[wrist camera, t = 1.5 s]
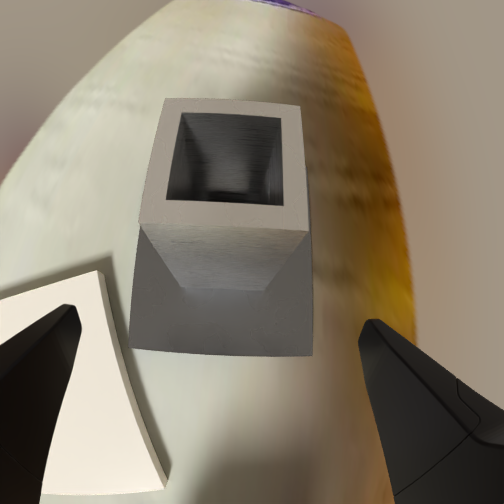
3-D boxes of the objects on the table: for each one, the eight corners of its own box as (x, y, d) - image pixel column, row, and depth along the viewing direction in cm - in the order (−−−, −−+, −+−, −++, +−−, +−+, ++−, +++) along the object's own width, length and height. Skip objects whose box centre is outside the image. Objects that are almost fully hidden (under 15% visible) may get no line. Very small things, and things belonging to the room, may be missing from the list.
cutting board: (168, 480, 17) (164, 489, 15) (27, 485, 14) (19, 491, 13) (104, 274, 21) (96, 270, 19) (-22, 312, 18) (-32, 310, 17)
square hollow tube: (263, 290, 20) (308, 230, 10) (180, 286, 20) (138, 222, 9) (264, 214, 22) (300, 106, 11) (187, 210, 21) (165, 98, 11)
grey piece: (306, 355, 21) (337, 358, 15) (134, 347, 20) (102, 347, 14) (302, 176, 25) (323, 131, 19) (155, 168, 24) (140, 121, 18)
